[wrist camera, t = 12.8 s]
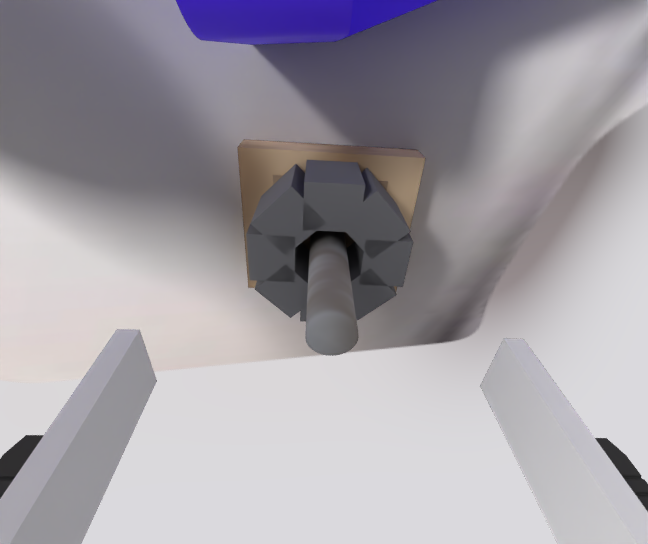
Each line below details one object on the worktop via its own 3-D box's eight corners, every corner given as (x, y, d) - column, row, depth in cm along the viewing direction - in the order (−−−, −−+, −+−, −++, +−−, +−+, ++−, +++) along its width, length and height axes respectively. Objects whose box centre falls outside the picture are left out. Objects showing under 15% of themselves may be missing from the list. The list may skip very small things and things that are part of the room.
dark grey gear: (255, 156, 20) (242, 178, 16) (407, 165, 20) (425, 188, 17) (261, 282, 25) (252, 319, 21) (383, 287, 25) (393, 324, 22)
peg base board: (252, 272, 27) (212, 407, 17) (243, 139, 21) (175, 220, 11) (390, 278, 27) (433, 413, 17) (417, 149, 22) (502, 236, 12)
